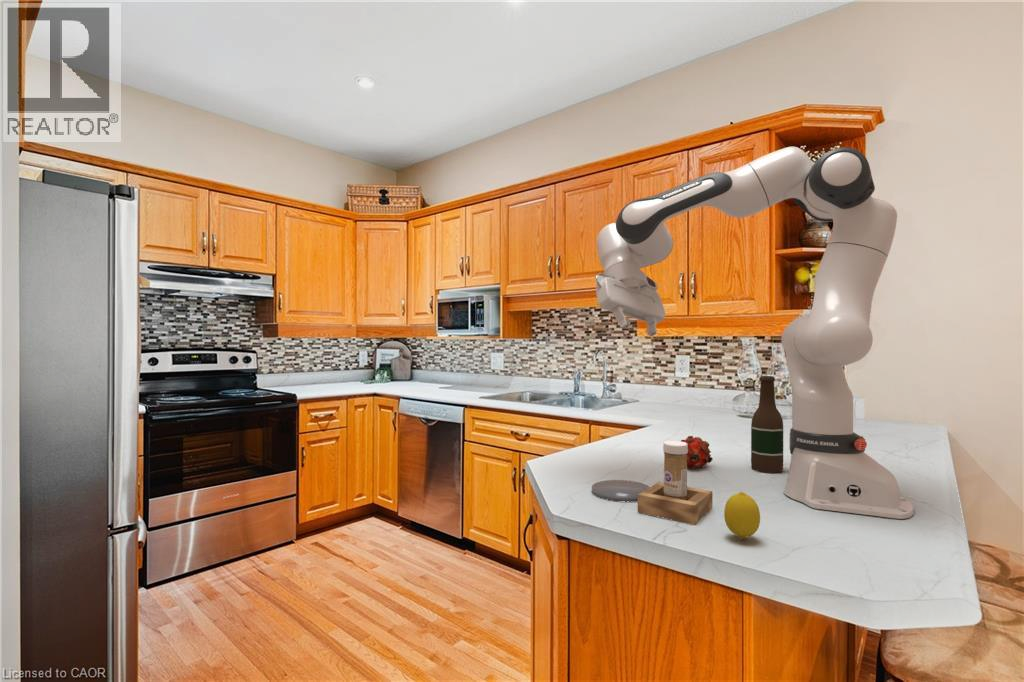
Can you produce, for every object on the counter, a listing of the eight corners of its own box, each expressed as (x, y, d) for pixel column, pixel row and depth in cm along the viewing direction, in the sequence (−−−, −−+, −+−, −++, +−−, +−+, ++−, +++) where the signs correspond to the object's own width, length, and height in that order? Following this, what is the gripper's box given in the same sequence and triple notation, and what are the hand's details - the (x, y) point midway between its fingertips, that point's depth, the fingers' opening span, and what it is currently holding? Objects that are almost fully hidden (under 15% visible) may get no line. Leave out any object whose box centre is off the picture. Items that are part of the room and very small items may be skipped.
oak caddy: (712, 508, 103) (712, 491, 103) (694, 524, 94) (694, 505, 94) (658, 498, 109) (658, 481, 109) (637, 512, 101) (637, 494, 101)
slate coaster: (661, 490, 115) (661, 486, 115) (637, 506, 104) (637, 501, 104) (608, 481, 122) (608, 476, 122) (581, 494, 112) (581, 489, 112)
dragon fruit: (696, 466, 142) (696, 485, 131) (670, 447, 143) (668, 464, 132) (716, 444, 139) (718, 460, 128) (689, 424, 141) (689, 439, 130)
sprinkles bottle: (658, 510, 102) (658, 442, 102) (670, 505, 105) (670, 439, 105) (680, 516, 98) (680, 445, 98) (692, 510, 102) (692, 442, 101)
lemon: (764, 547, 84) (764, 497, 84) (727, 544, 85) (727, 495, 85) (755, 534, 89) (755, 488, 89) (721, 532, 90) (721, 486, 90)
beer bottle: (746, 465, 137) (746, 374, 136) (777, 466, 136) (777, 375, 135) (756, 473, 129) (756, 377, 129) (789, 474, 128) (789, 377, 128)
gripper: (603, 263, 118) (617, 314, 111) (661, 285, 130) (677, 332, 123) (585, 278, 122) (597, 328, 116) (642, 298, 134) (657, 344, 127)
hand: (639, 330), depth 119 cm, fingers open, 8 cm apart
